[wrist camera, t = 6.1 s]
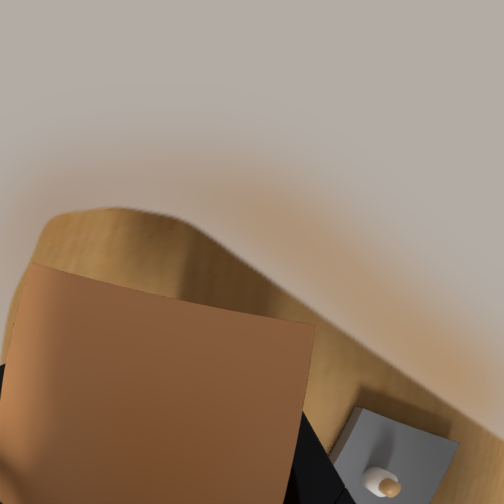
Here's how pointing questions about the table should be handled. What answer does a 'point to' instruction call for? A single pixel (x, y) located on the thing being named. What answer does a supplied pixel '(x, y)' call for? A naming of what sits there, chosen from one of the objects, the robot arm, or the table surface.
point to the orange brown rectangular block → (146, 398)
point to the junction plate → (390, 460)
